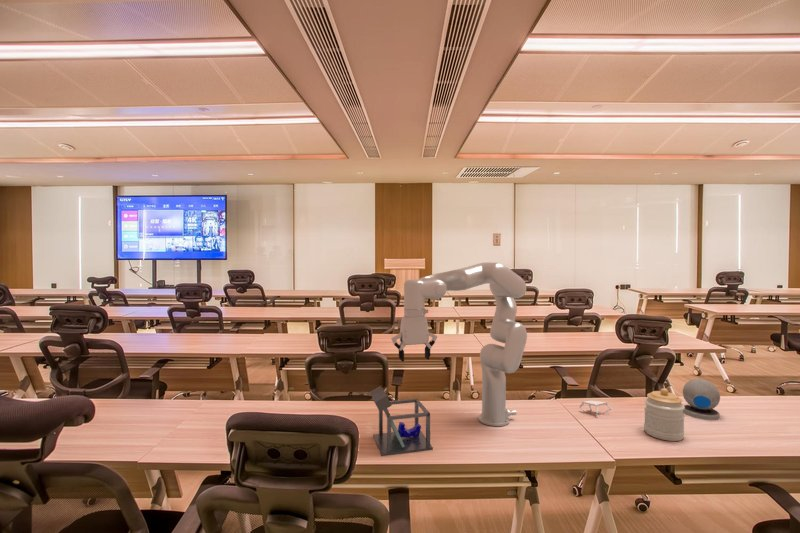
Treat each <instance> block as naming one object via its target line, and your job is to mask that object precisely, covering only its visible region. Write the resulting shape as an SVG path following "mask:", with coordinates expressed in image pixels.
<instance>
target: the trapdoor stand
mask: <svg viewBox="0 0 800 533" xmlns="http://www.w3.org/2000/svg"><path fill="white" fill-rule="evenodd" d="M389 401H390V403H391V405H403V404H411V403H413V404H414V413H409V414H406V413H405V414H397V415H390V416H387V417H386V432H384V430H383V429H384V426H383V425H384V424H383V422H384V417H383V415H384V410H383V411H381V412H380V411H379V410H378V433H374V434H372V438H373V439H374V441H375V444H376V446H378V447H377V449H378V452H379V453H380V455H381V457H386V456H394V455H402V454H410V453H419V452H426V451H433V449H434V446H432V445H431V413H430V411H429V410H428V409H427V408H426V406H425V405H423V402H421V401H420V399H418V398H411V399H409V398H408V399H398V400H389ZM419 408H420V410H422V411H423V412H419ZM422 417H423V418H424V417H425V434H424V433H423V431H422V430H421V429H420V433H419V437H417V436H410V438H406V437H401V439H402V441H403V443H404V445H405V447H403V448H402V446H401V444H400V442H399V441H398V439H397V437H396V435H395V434H394V431H392V427H391V420H393V421H394V420H396V421H397V420H402V419H413V418H414V425H415V424H420V422H419V418H422Z"/></svg>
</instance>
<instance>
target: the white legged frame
mask: <svg viewBox="0 0 800 533" xmlns="http://www.w3.org/2000/svg"><path fill="white" fill-rule="evenodd" d="M584 405H588V407H589V412H592V406H595V413H596V414H595V417H596V418H598V417H599V407H601V406H604V405H605V406H606V407H608V409H607V410H606V411H605V412H604V413H605V415H609V413H608V412H610V411H611V410H613V408H612V407H611V406H610V405H609V404H608V402H605V401H601V400H600V401H598V400H586V401H581V404H580V405H579V409H580V410H582V413H584V412H585V410H584V409H583V408H582V407H583V406H584Z"/></svg>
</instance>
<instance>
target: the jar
mask: <svg viewBox="0 0 800 533" xmlns="http://www.w3.org/2000/svg"><path fill="white" fill-rule="evenodd" d="M646 396H647V397H646V398H644V403H645V407H644V410H643V411H644V423H643V427H644V432H645V433H646V434H647V435H649V436H651V437H653V438H656V439H659V440H663V441H668V442H679V441H682V440H684V437H685V413H684V412H683V410H684V409H685V406H684V404H683V403H682V402H683V400H682V398H681V397H679V396H678V395H676V394H675V393H672V392H670V391H669V390H668V389H667V388H661V389H660V390H654V391H651V392H649V393H647V394H646Z"/></svg>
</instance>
